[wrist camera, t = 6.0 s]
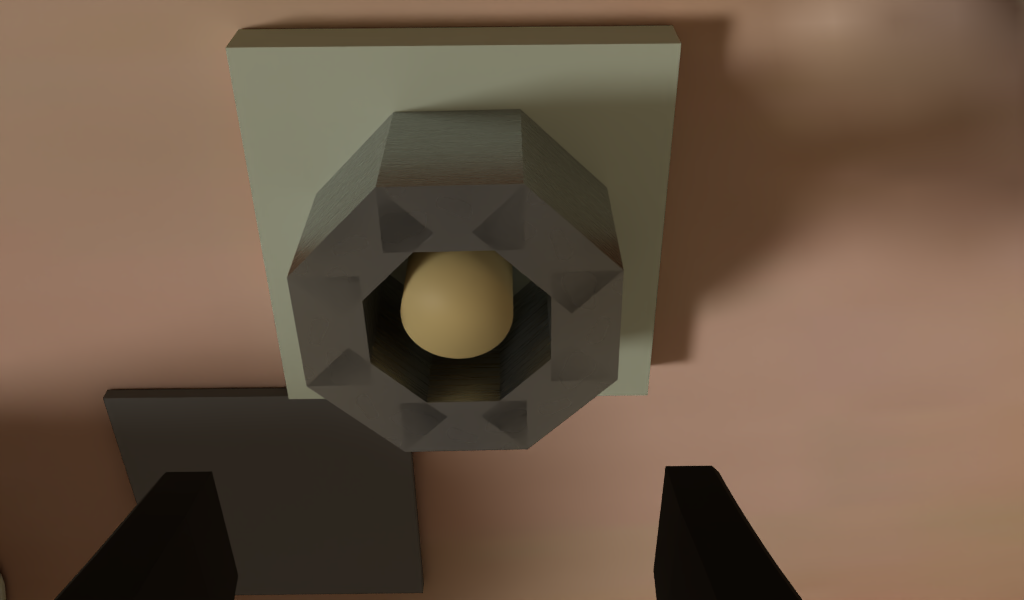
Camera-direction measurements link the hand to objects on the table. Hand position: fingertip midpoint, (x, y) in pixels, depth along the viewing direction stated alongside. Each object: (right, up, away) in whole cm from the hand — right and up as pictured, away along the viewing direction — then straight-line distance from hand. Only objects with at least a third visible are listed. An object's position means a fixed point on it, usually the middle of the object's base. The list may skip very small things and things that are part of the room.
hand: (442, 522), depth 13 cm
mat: (-5, -2, +11) cm, 13 cm away
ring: (0, +4, +6) cm, 7 cm away
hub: (0, +5, +7) cm, 8 cm away
